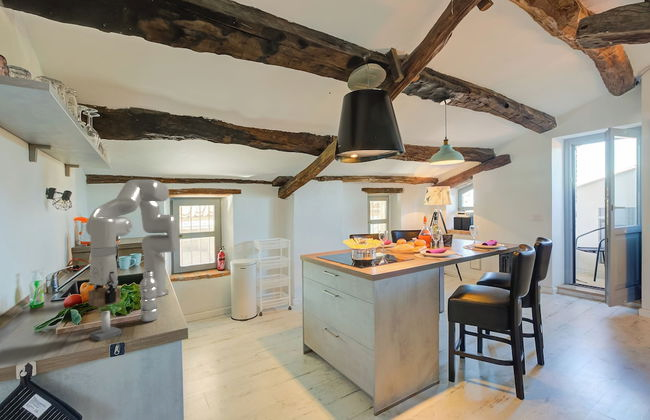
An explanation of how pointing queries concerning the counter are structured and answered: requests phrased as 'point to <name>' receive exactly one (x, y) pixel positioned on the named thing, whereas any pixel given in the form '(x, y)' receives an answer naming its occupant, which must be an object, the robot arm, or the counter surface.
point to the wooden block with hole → (101, 297)
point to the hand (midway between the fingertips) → (105, 301)
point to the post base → (105, 335)
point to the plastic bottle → (148, 297)
